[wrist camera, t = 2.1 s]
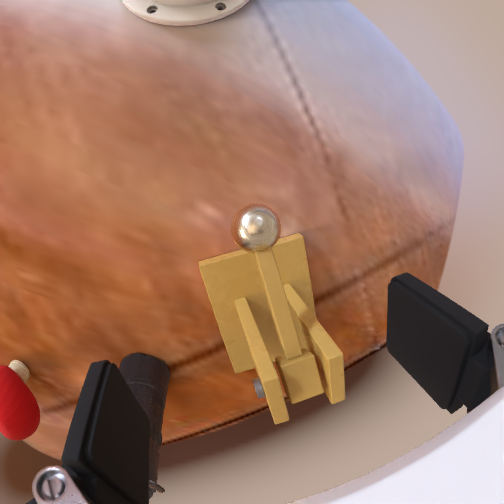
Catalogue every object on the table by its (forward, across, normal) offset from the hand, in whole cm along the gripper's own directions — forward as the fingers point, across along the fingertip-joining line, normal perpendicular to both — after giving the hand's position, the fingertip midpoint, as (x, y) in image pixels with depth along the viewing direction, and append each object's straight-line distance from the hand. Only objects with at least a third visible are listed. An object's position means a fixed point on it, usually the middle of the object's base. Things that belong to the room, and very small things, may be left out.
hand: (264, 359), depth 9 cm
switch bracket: (+17, -2, +8) cm, 19 cm away
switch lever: (+11, -2, +4) cm, 12 cm away
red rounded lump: (+17, +26, +9) cm, 32 cm away
